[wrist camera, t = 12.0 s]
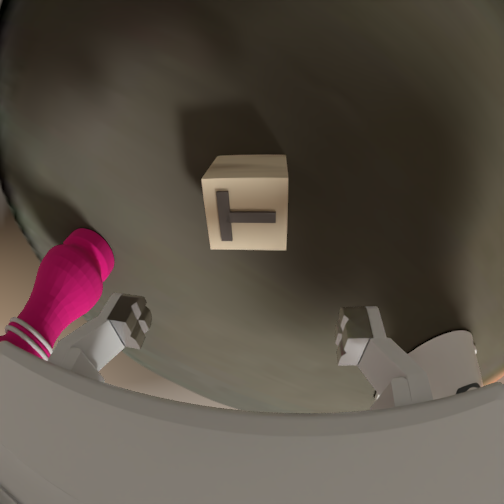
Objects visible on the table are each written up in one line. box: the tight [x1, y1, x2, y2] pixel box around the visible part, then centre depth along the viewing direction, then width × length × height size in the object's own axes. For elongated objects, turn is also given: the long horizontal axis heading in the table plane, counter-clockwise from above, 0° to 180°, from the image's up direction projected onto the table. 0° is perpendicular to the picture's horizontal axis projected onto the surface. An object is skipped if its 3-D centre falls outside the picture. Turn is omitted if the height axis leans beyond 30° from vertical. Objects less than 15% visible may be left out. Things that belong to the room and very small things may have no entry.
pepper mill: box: [0, 228, 114, 361], centre depth 18 cm, size 7×7×20 cm
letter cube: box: [201, 155, 288, 250], centre depth 18 cm, size 5×5×5 cm
